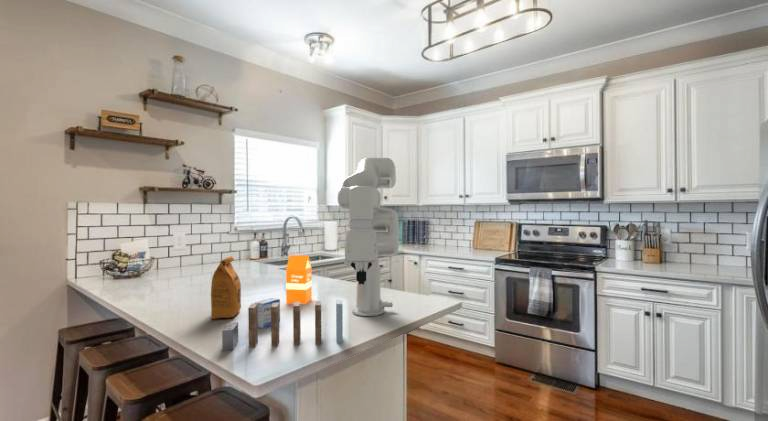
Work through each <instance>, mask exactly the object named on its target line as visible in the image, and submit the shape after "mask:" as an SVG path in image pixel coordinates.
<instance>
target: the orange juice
mask: <svg viewBox="0 0 768 421" xmlns="http://www.w3.org/2000/svg"><path fill="white" fill-rule="evenodd" d="M312 269H313V268H312V264H311V260H310V257H309V255H294V254H293V255H292V254H290V255H289V256H288V260H287V265H286V269H285V272H286V273H285V280H286V281H285V282H286V283H285V288H286V290H285V291H286V294H285V295H286V297H285V298H286V299H285V300H286V301H285V302H286V304H294V302H300V305H303V304H308V303H309V302H310V301H312V298H313V297H312V296H313V295H312V294H313V292H312V291H313V290H312V289H313V288H312V285H313V284H312V283H313V282H312V272H313V271H312Z"/></svg>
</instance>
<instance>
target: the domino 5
mask: <svg viewBox="0 0 768 421" xmlns="http://www.w3.org/2000/svg"><path fill="white" fill-rule="evenodd" d="M335 303H336V305H335V306H336V307H335V308H336V309H335V315H336V316H335V317H336V318H335V319H336V320H335V322H336V323H335V328H336V329H335V331H336V333H335V334H336V335H335V336H336V339H335V341H336V344H342V343H343V340H344V339H343V337H344V335H343V331H344V330H343V300H342V299H336V301H335Z"/></svg>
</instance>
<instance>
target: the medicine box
mask: <svg viewBox="0 0 768 421" xmlns="http://www.w3.org/2000/svg"><path fill="white" fill-rule="evenodd" d="M278 302H279V324H280V323H281V300H280V298H276V297H271V298H266V299H263V300H259V301H255V302H254V303H258V328H259V329H264V330H265V329H266V328H269V327H271V306H272V304H273V303H278Z"/></svg>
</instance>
